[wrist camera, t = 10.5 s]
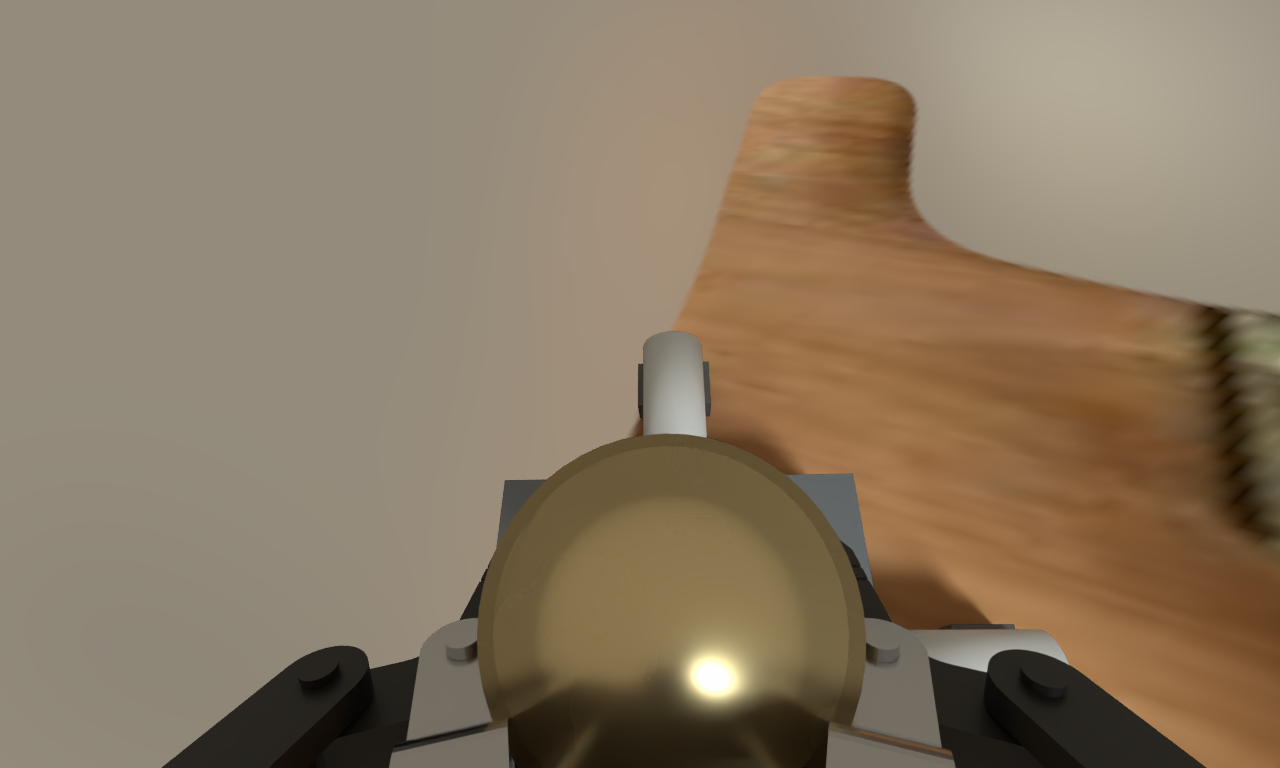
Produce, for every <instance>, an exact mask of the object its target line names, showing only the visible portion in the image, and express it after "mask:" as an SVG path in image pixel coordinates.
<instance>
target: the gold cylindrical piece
mask: <svg viewBox="0 0 1280 768" xmlns="http://www.w3.org/2000/svg"><path fill="white" fill-rule="evenodd" d="M477 649H478V665H479V671H480V676H481V682H482V688H483V692H484V696H485V699H486V702H487V705H488V709H489V712H490V715H491V718H492V720H493V721H496V720H500V719H505V718H508V719H509V731H510V743H511V755H512V759H513V760H514V762H515V763H516V765H517V767H518V768H826V760H827V745H828V730H829V721H831V722H836V723H840V724H844V725H848V726H851V725H852V722H853V720H854V716H855V713H856V709H857V706H858V703H859V699H860V696H861V691H862V685H863V678H864V672H865V665H866V630H865V620H864V610H863V605H862V601H861V596H860V592H859V588H858V583H857V580H856V577H855V575H854V572H853V569H852V566H851V564H850V561H849V558H848V556H847V554H846V552H845V550H844V548H843V546H842V544H841V542H840V540H839V538H838V536H837V534H836V532H835V531H834V529H833V528H832V526H831V525H830V523H829V522H828V520H827V519H826V517H825V516H824V514H823V513H822V512H821V510H820V509H819V508H818V507H817V506H816V505H815V503H814V502H813V501H812V500H811V499H810V497H809V496H808V495H807V494H806V493H805V492H804V491H803V490H802V489H801V488H800V487H798V486H797V485H796V484H795V483H794V482H793V481H792V480H791V479H790V478H789V477H787V476H786V475H785V474H783V473H782V472H781V471H779V470H778V469H776V468H775V467H774V466H772V465H771V464H769V463H768V462H766V461H764V460H762V459H761V458H759V457H757V456H755V455H754V454H752V453H750V452H748V451H745V450H743V449H740V448H738V447H736V446H733V445H731V444H728V443H725V442H721V441H718V440H714V439H711V438H706V437H700V436H694V435H688V434H667V433H664V434H651V435H642V436H637V437H632V438H627V439H622V440H619V441H616V442H613V443H610V444H607V445H603V446H601V447H599V448H597V449H594V450H592V451H590V452H588V453H586V454H584V455H582V456H580V457H578V458H577V459H575V460H574V461H572V462H570V463H569V464H567V465H565V466H564V467H562V468H561V469H560V470H558V471H557V472H556V473H555V474H553V476H551V477H550V478H548V479H547V480H546V481H545V482H544V483H543V484H542V485H541V486H540V487H539V488H538V489H537V490H536V491H535V492H534V493H533V494H532V495H531V496H530V497H529V498H528V499H527V501H526V502H525V503H524V504H523V506H522V507H521V508H520V510H519V511H518V512H517V513H516V515H515V516H514V518H513V519H512V521H511V522H510V524H509V526H508V527H507V529H506V531H505V532H504V534H503V536H502V537H501V540H500V542H499V544H498V546H497V548H496V551H495V553H494V555H493V557H492V559H491V563H490V566H489V569H488V572H487V575H486V578H485V581H484V585H483V590H482V595H481V600H480V605H479V613H478V627H477Z"/></svg>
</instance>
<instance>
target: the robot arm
mask: <svg viewBox="0 0 1280 768" xmlns="http://www.w3.org/2000/svg"><path fill="white" fill-rule="evenodd" d="M840 542H841V544H842V546H843V548H844V550H845V552H846V554H847V556H848V558H849V561H850V564H851V566H852V569H853V572H854V575H855V577H856V580H857V583H858V588H859V592H860V596H861V601H862V605H863V610H864V620H865V630H866V665H865V672H864V678H863V685H862V691H861V696H860V699H859V703H858V706H857V709H856V713H855V716H854V720H853V722H852V725H851V726H848V725H844V724H840V723H836V722H831V721H829V730H828V745H827V760H826V768H1206V767H1205V766H1203V765H1202V764H1201V763H1199V762H1198V761H1197V760H1195V759H1194V758H1193V757H1191V756H1190V755H1189V754H1188V753H1186V752H1185V751H1184V750H1182V749H1181V748H1180V747H1178V746H1177V745H1176V744H1174V743H1173V742H1172V741H1170V740H1169V739H1168V738H1166V737H1165V736H1164V735H1162V734H1161V733H1160V732H1158V731H1157V730H1156V729H1155V728H1153V727H1152V726H1151V725H1149V724H1148V723H1147V722H1145V721H1144V720H1143V719H1141V718H1140V717H1139V716H1137V715H1136V714H1135V713H1133V712H1132V711H1131V710H1129V709H1128V708H1127V707H1125V706H1124V705H1123V704H1122V703H1120V702H1119V701H1118V700H1116V699H1115V698H1114V697H1112V696H1111V695H1110V694H1108V693H1107V692H1106V691H1104V690H1103V689H1102V688H1100V687H1099V686H1098V685H1096V684H1095V683H1094V682H1093V681H1091V680H1090V679H1089V678H1087V677H1086V676H1085V675H1083V674H1082V673H1081V672H1079V671H1078V670H1076V669H1075V668H1073V667H1072V666H1070V665H1068V664H1066V663H1065V662H1063V661H1060V660H1058V659H1056V658H1054V657H1051V656H1048V655H1046V654H1042V653H1039V652H1035V651H1029V650H1021V649H1010V650H1004V651H1001V652H998V653H996V654H995V655H993V656H992V657H991V658H990V660H989V663H988V668H987V672H983V671H978V670H974V669H970V668H965V667H961V666H956V665H952V664H948V663H945V662H941V661H939V660H936V659H933V658H931V657H929V656H928V653H927V650H926V648H925V646H924V644H923V643H922V642H921V641H920V639H918V638H917V637H916V636H915V635H914V634H913V633H911V632H910V631H909V630H907V629H905V628H903V627H901V626H899V625H897V624H895V623H892V621H891V620H890V618H889V616H888V614H887V612H886V610H885V609H884V607H883V605H882V603H881V601H880V599H879V598H878V596H877V594H876V592H875V590H874V588H873V587H872V585H871V583H870V581H868V577H867V576H866V574H865V572H864V570H863V568H861V565H860V563H859V561H858V559H857V557H856V555H855V554H854V552H853V550H852V549H851V548H850V547H849V546H847V545H846V544H845V543H843V542H842V541H841V540H840ZM490 563H491V561H490ZM490 563H489V565H488V569H489V566H490ZM488 569H486V571H485V572H484V575H483V577H482V579H481V582H479V584H478V586H477V588H476V590H475V592H474V594H473V595H472V597H471V599H470V601H469V603H468V605H467V607H466V609H465V611H464V613H463V614H462V616H461V618H460V620H459V621H456V622H453V623H450V624H448V625H446V626H444V627H442V628H440V629H439V630H437V631H436V632H435V633H433V634H432V635H431V636H430V637H429V638H428V639H427V640H426V642H425V643H424V644H423V646H422V648H421V651H420V656H419V657H417V658H414V659H411V660H407V661H404V662H399V663H395V664H390V665H386V666H382V667H378V668H373V669H370V668H369V662H368V658H367V656H366V654H365V653H364V652H363V651H362V650H360V649H358V648H356V647H351V646H334V647H329V648H325V649H321V650H318V651H315V652H313V653H310V654H308V655H306V656H304V657H302V658H300V659H299V660H297V661H295V662H294V663H292V664H291V665H290V666H288V667H287V668H286V669H284V670H283V671H282V672H281V673H280V674H278V675H277V676H276V677H274V678H273V679H272V680H271V681H269V682H268V683H267V684H266V685H264V686H263V687H262V688H261V689H259V690H258V691H257V692H256V693H254V694H253V695H252V696H251V697H249V698H248V699H247V700H246V701H244V702H243V703H242V704H241V705H239V706H238V707H237V708H236V709H234V711H232V712H231V713H229V714H228V715H227V716H226V717H225V718H223V719H222V720H221V721H220V722H218V723H217V724H216V725H214V726H213V727H212V728H211V729H209V730H208V731H207V732H206V733H205V734H203V735H202V736H201V737H199V738H198V739H197V740H196V741H194V742H193V743H192V744H191V745H189V746H188V747H187V748H186V749H184V750H183V751H182V752H181V753H180V754H178V755H177V756H176V757H175V758H173V759H172V760H171V761H169V762H168V763H167V764H166V765H164V766H163V767H162V768H518V767H517V765H516V763H515V762H514V760H513V759H512V755H511V743H510V731H509V719H508V718H505V719H500V720H496V721H493V720H492V718H491V715H490V712H489V709H488V705H487V702H486V699H485V696H484V692H483V688H482V682H481V676H480V671H479V665H478V649H477V627H478V613H479V605H480V600H481V595H482V590H483V585H484V581H485V578H486V575H487V572H488Z"/></svg>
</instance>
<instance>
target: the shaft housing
mask: <svg viewBox="0 0 1280 768" xmlns="http://www.w3.org/2000/svg"><path fill="white" fill-rule="evenodd" d="M643 351H644V352H643V355H644V357H643V362H644V363H643V364H638V408H639V414H640V418H643V435H651V434H664V433H667V434H688V435H694V436H700V437H706V438H707V432H706V416H710V408H711V397H710V381H709V364H708V362H703V358H702V344H701V342H700V340H699V339H698V338H697V337H695V336H693V335H691V334H689V333H685V332H679V331H669V332H663V333H659V334H656V335H654V336H652V337H650V338H649V339H648V340H647V341H646V342H645V344H644V347H643ZM786 476H787V477H789V478H790V479H791V480H792V481H793V482H794V483H795V484H796V485H797V486H798V487H800V488H801V489H802V490H803V491H804V492H805V493H806V494H807V495H808V496H809V497H810V499H811V500H812V501H813V502H814V503H815V505H816V506H817V507H818V508H819V509H820V510H821V512H822V513H823V514H824V516H825V517H826V519H827V520H828V522H829V523H830V525H831V526H832V528H833V529H834V531H835V532H836V534H837V536H838V538H839V540H841V541H842V542H843V543H845V544H846V545H847V546H849V547H850V548H851V549H852V550H853V552H854V554H855V555H856V557H857V559H858V561H859V563H860V565H861V568H863V570H864V572H865V574H866V576H867V577H868V581H870V583H871V585H872V587H873V582H872V577H871V571H870V566H869V560H868V555H867V549H866V544H865V538H864V532H863V527H862V521H861V516H860V510H859V505H858V499H857V493H856V488H855V482H854V477H853V474H805V475H786ZM545 481H546V480H505V484H504V492H503V500H502V509H501V516H500V524H499V533H498V541H497V546H498V544H499V542H500V540H501V537H502V536H503V534H504V532H505V531H506V529H507V527H508V526H509V524H510V522H511V521H512V519H513V518H514V516H515V515H516V513H517V512H518V511H519V510H520V508H521V507H522V506H523V504H524V503H525V502H526V501H527V499H528V498H529V497H530V496H531V495H532V494H533V493H534V492H535V491H536V490H537V489H538V488H539V487H540V486H541V485H542V484H543V483H544V482H545ZM909 631H910V632H911V633H913V634H914V635H915V636H916V637H917V638H918V639H920V641H921V642H922V643H923V644H924V646H925V648H926V650H927V653H928V656H929V657H931V658H933V659H936V660H939V661H941V662H945V663H948V664H952V665H956V666H961V667H965V668H970V669H974V670H978V671H983V672H987V668H988V663H989V660H990V658H991V657H992V656H993V655H995V654H996V653H998V652H1001V651H1004V650H1010V649H1021V650H1029V651H1035V652H1039V653H1042V654H1046V655H1048V656H1051V657H1054V658H1056V659H1058V660H1060V661H1063V662H1065V663H1066V664H1068V665H1069V663H1068V661H1067V659H1066V657H1065V655H1064V653H1063V651H1062V649H1061V648H1060V646H1059V645H1058V643H1057V642H1056V641H1055V639H1054V638H1053V637H1052V636H1051V635H1049V634H1048V633H1047V632H1045V631H1043V630H1039V629H1015V627H1014V624H960V625H948V626H945V627H942V628H940V629H938V630H909Z"/></svg>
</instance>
